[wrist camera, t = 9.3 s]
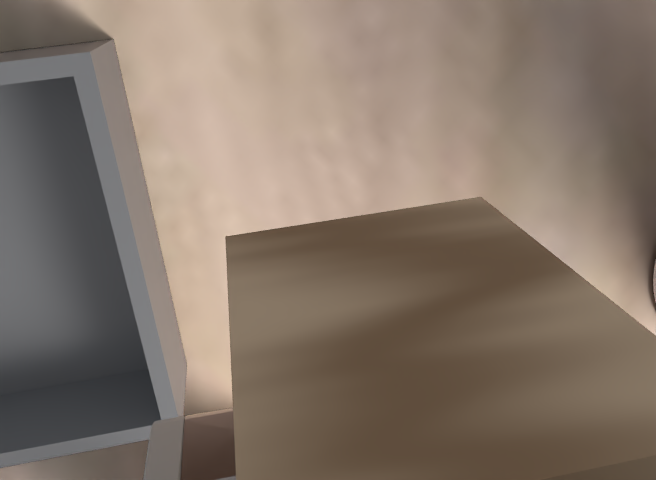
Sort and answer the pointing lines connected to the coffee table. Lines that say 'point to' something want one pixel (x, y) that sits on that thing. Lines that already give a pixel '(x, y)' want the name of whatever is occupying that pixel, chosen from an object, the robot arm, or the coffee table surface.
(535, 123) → the coffee table surface
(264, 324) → the beech block
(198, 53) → the coffee table surface
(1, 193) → the bin
